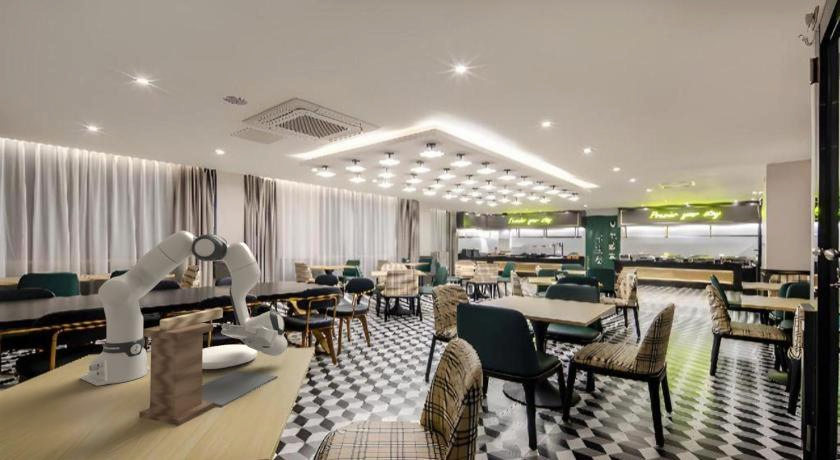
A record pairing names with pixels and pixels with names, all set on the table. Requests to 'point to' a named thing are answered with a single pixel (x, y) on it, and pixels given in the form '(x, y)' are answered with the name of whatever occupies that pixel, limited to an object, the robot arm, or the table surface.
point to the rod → (190, 319)
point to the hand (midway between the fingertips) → (233, 326)
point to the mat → (233, 386)
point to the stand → (176, 374)
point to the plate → (226, 356)
